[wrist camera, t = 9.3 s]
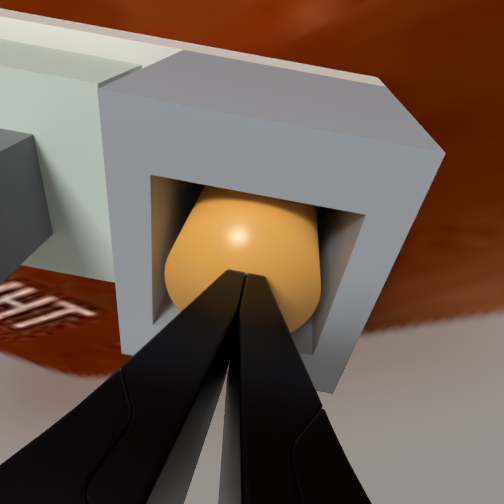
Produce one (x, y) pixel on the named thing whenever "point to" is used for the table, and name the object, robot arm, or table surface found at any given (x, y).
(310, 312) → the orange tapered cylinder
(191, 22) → the table surface
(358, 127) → the rail
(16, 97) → the carriage
